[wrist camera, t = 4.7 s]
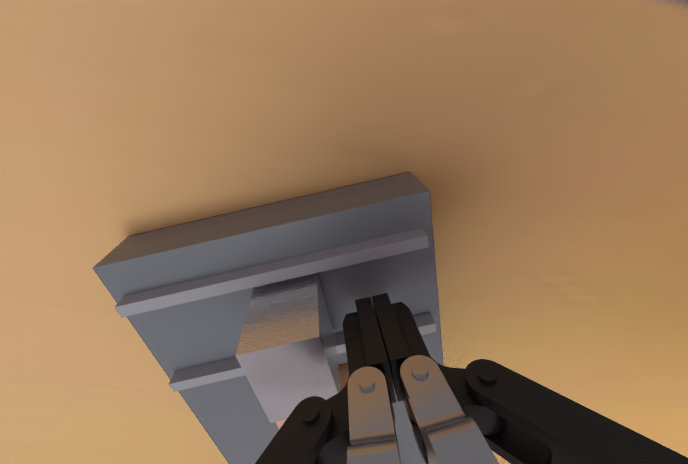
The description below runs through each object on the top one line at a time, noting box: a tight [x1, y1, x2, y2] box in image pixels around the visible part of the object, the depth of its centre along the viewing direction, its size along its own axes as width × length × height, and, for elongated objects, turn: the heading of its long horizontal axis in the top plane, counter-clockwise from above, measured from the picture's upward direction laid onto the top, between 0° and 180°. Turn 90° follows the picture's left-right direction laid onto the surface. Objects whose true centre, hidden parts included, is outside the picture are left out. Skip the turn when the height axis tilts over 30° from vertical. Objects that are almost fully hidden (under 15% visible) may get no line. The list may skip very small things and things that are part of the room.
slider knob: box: [235, 273, 341, 423], centre depth 14 cm, size 3×4×4 cm
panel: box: [93, 172, 443, 464], centre depth 20 cm, size 15×24×4 cm, turn 11°
